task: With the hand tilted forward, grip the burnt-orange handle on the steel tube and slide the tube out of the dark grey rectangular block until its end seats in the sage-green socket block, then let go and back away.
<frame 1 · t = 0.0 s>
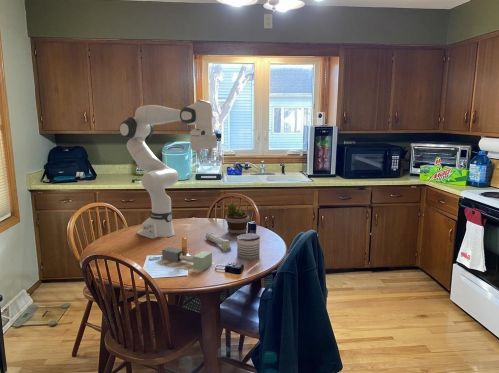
hand: (204, 157, 203), 48 cm above the table, tool pointing down, fingers open, 8 cm apart
grey-green long bar: (218, 246, 208), on the table
dark grey rectangular block: (173, 259, 185), resting on base board
flowerpot: (237, 232, 231), on the table
base board: (185, 264, 182), on the table
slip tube: (181, 248, 181), point 8 cm above the table, slide at 0.0 cm
can: (248, 258, 191), on the table
socket block: (202, 266, 177), resting on base board
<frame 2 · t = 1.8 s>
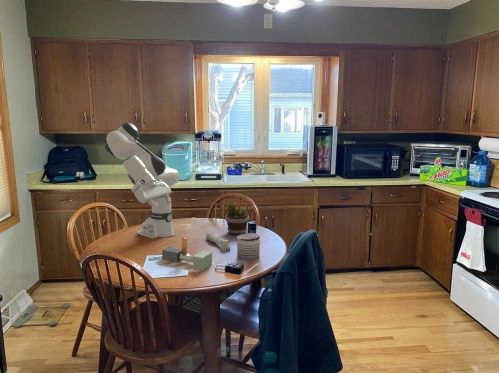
hand: (163, 205, 182), 28 cm above the table, tool tilted 45°, fingers open, 8 cm apart
nothing on the table moved.
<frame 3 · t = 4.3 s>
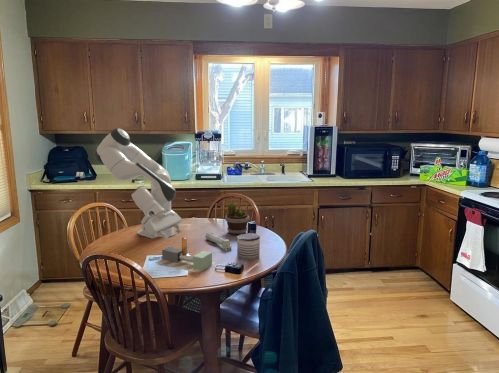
hand: (173, 235, 180), 14 cm above the table, tool tilted 50°, fingers open, 8 cm apart
nothing on the table moved.
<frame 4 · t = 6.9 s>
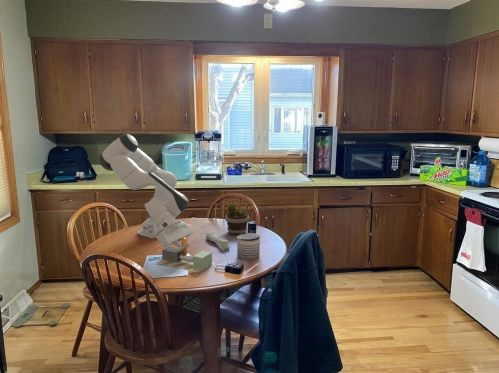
hand: (185, 247, 180), 8 cm above the table, tool tilted 45°, fingers closed on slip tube, 2 cm apart
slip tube: (181, 248, 181), point 8 cm above the table, slide at 0.0 cm, touching gripper
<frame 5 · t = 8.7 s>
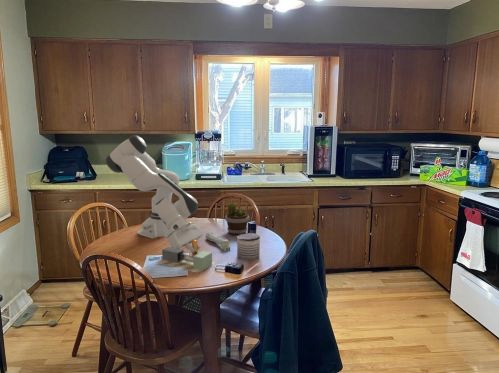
hand: (196, 250, 177), 8 cm above the table, tool tilted 45°, fingers closed on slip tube, 2 cm apart
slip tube: (191, 250, 179), point 8 cm above the table, slide at 6.0 cm, touching gripper
everything else where it was.
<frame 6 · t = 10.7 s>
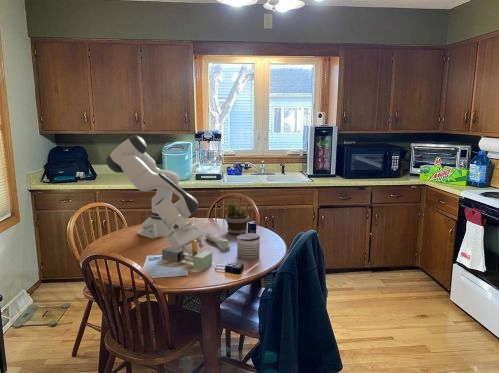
hand: (196, 250, 177), 8 cm above the table, tool tilted 45°, fingers open, 8 cm apart
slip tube: (191, 250, 179), point 8 cm above the table, slide at 6.0 cm
everything else where it was.
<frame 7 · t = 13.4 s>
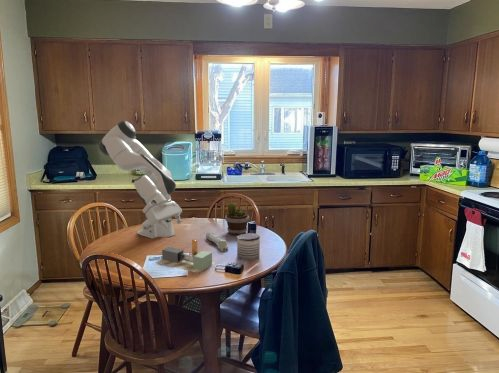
hand: (174, 225, 181), 18 cm above the table, tool tilted 45°, fingers open, 8 cm apart
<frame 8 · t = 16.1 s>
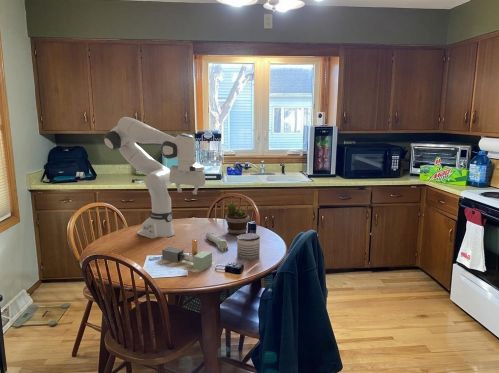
hand: (187, 193, 193), 31 cm above the table, tool pointing down, fingers open, 8 cm apart
at the end: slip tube slide at 6.0 cm; the gripper is holding nothing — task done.
